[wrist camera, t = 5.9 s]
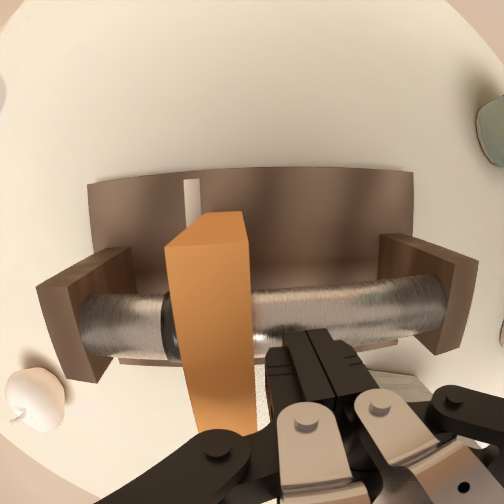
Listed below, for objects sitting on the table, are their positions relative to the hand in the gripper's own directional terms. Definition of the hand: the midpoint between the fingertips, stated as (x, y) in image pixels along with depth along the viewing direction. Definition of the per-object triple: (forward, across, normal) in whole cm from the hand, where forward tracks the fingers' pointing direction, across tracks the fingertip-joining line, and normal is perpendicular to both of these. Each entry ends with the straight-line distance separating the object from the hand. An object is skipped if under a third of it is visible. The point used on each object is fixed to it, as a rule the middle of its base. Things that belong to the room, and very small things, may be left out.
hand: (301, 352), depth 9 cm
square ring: (+7, +3, 0) cm, 8 cm away
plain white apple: (+11, +24, +12) cm, 29 cm away
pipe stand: (+11, +1, 0) cm, 11 cm away
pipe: (+4, +1, 0) cm, 4 cm away
